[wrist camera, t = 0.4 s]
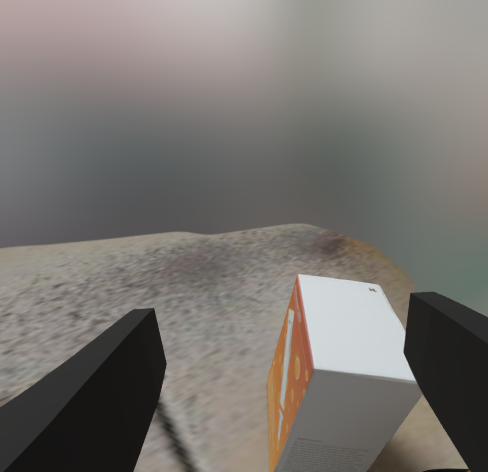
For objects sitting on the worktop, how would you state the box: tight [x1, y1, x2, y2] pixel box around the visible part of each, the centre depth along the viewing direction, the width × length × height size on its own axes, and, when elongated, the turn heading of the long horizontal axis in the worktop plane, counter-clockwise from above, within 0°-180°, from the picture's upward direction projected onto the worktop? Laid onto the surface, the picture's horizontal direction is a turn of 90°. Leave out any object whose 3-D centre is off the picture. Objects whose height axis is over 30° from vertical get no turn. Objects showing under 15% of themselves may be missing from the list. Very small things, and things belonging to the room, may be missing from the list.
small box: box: [267, 274, 423, 472], centre depth 22 cm, size 8×6×13 cm
